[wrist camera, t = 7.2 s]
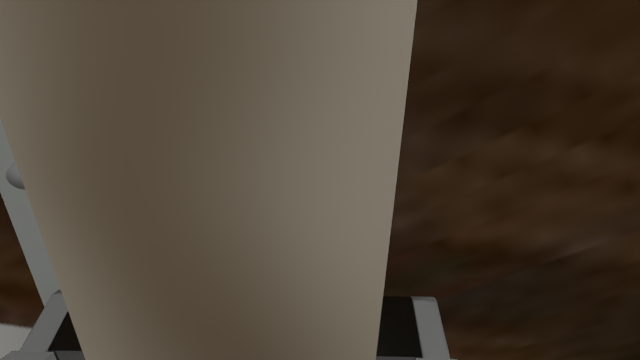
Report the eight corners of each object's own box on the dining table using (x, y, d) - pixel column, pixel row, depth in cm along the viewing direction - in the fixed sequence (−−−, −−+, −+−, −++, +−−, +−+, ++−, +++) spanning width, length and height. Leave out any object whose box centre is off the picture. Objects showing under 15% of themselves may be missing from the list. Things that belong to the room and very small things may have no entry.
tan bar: (386, -109, 9) (424, -64, 5) (345, 439, 18) (349, 582, 14) (80, -114, 9) (-67, -73, 5) (193, 436, 18) (163, 580, 14)
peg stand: (186, 86, 31) (160, 138, 26) (214, 304, 41) (200, 371, 36) (-24, 82, 31) (-89, 133, 26) (56, 302, 41) (20, 369, 36)
